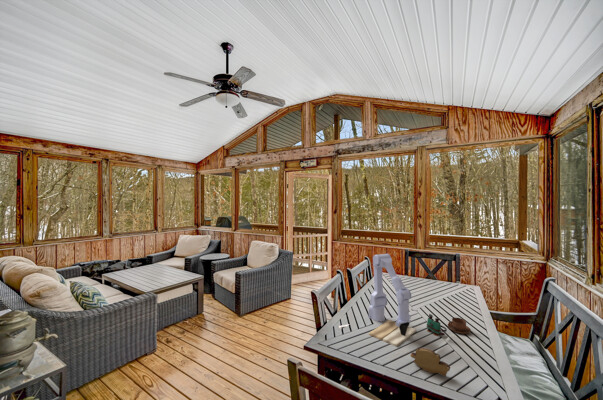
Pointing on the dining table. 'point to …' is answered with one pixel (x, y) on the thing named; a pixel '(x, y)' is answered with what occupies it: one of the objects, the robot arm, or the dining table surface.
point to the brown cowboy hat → (459, 326)
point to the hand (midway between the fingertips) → (403, 334)
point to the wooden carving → (430, 361)
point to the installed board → (384, 330)
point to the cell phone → (343, 326)
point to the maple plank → (398, 336)
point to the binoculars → (435, 326)
